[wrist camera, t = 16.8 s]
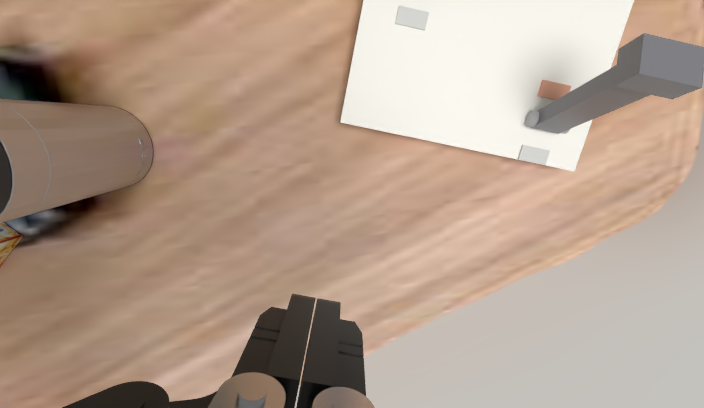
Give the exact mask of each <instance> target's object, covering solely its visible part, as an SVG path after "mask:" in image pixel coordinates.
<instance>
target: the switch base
mask: <svg viewBox="0 0 704 408" xmlns="http://www.w3.org/2000/svg"><path fill="white" fill-rule="evenodd" d="M633 2H634V0H364V1H363V6H362V11H361V16H360V21H359V27H358V32H357V37H356V42H355V48H354V53H353V58H352V63H351V68H350V74H349V79H348V84H347V89H346V95H345V100H344V105H343V110H342V115H341V121H340V122H341V123H346V124H350V125H355V126H360V127H365V128H370V129H374V130H379V131H384V132H389V133H393V134H398V135H403V136H408V137H413V138H417V139H422V140H427V141H432V142H436V143H441V144H446V145H451V146H455V147H460V148H465V149H470V150H475V151H479V152H484V153H489V154H494V155H498V156H503V157H508V158H513V159H518V160H522V161H527V162H532V163H537V164H541V165H546V166H551V167H556V168H561V169H565V170H570V171H575V168H576V165H577V162H578V159H579V156H580V154H581V151H582V148H583V145H584V142H585V139H586V136H587V134H588V131H589V128H590V125H591V122H592V120H590V121H587V122H585V123H583V124H580V125H578V126H576V127H573V128H571V129H570V130H569V132H568V133H566V134H562V133H559V134H556V133H551V132H547V131H542V130H537V129H533V128H531V127H530V126H526V124H525V121H526V117H527V115H528V113H529V112H530V111H531V110H534V111H538V110H539V109H541V108H543V107H545V106H546V105H548V104H550V103H552V102H553V101H555V100H557V99H559V98H560V97H562V96H564V95H566V94H567V93H569V92H571V91H573V90H574V89H576V88H578V87H579V86H581V85H583V84H585V83H586V82H588V81H590V80H592V79H593V78H595V77H597V76H599V75H600V74H602V73H604V72H606V71H607V70H609V69H610V68H611V65H612V62H613V59H614V56H615V54H616V51H617V48H618V45H619V42H620V39H621V36H622V34H623V31H624V28H625V25H626V22H627V19H628V16H629V14H630V11H631V8H632V5H633Z"/></svg>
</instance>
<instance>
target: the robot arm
mask: <svg viewBox="0 0 704 408" xmlns="http://www.w3.org/2000/svg"><path fill="white" fill-rule="evenodd" d="M152 158H153V147H152V143H151V139H150V137H149V134H148V132H147V130H146V129H145V128H144V126H143V125H142V123H141V122H140V121H139V120H138V119H137V118H136V117H134V116H133V115H131V114H130V113H128V112H127V111H124V110H122V109H120V108H116V107H111V106H99V105H85V104H71V103H56V102H41V101H26V100H12V99H0V223H3V222H6V221H10V220H13V219H16V218H19V217H23V216H26V215H30V214H33V213H37V212H40V211H44V210H47V209H51V208H54V207H58V206H61V205H65V204H68V203H71V202H75V201H78V200H82V199H85V198H89V197H92V196H96V195H99V194H103V193H107V192H110V191H114V190H117V189H120V188H124V187H127V186H131V185H133V184H135V183H137V182H138V181H140V180H141V179H142V178H143V177H144V176H145V175H146V174H147V172H148V171H149V168H150V166H151V164H152ZM314 303H315V298H313V297H308V296H302V295H297V294H292V296H291V299H290V302H289V305H288V308H287V310H286V309H280V308H274V307H271V308H269V309H268V310H267V311H265V312H264V313H263V314H261V315H260V317H259V319H258V321H257V323H256V325H255V329H254V330H253V332H252V334H251V337H250V338H249V341H248V343H247V345H246V347H245V349H244V351H243V354H242V356H241V358H240V360H239V362H238V364H237V367H236V369H235V371H234V373H233V375H232V377H231V378H230V379H228V380H227V381H225V382H224V383H223V384H222V385H221V387H220V388H219V390H218V391H217V392H215V393H213V394H211V395H208V396H205V397H202V398H198V399H192V400H183V401H173V402H169V397H168V394H167V393H166V391H165V390H164V389H163V388H162V387H160V386H158V385H156V384H154V383H150V382H142V381H136V382H127V383H123V384H119V385H116V386H113V387H110V388H108V389H106V390H103V391H101V392H99V393H96V394H94V395H91V396H89V397H87V398H84V399H82V400H79V401H77V402H75V403H72V404H70V405H67V406H65V407H63V408H294V406H295V401H296V396H297V391H298V386H299V381H300V376H301V371H302V366H303V360H304V355H305V350H306V345H307V340H308V334H309V329H310V324H311V319H312V313H313V308H314ZM362 347H363V341H362V332H361V331H360V329H359V328H358V326H357V325H356V323H355V322H352V321H347V320H341V319H340V302H335V301H329V300H324V299H317V303H316V308H315V313H314V318H313V323H312V328H311V333H310V338H309V343H308V349H307V354H306V359H305V364H304V370H303V375H302V381H301V386H300V391H299V397H298V402H297V408H374V406H373V404H372V403H371V401H370V400H369V399H368V398H367V397H366V391H365V374H364V358H363V348H362Z"/></svg>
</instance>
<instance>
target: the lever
mask: <svg viewBox="0 0 704 408" xmlns="http://www.w3.org/2000/svg"><path fill="white" fill-rule="evenodd" d="M703 72H704V47H700V46H696V45H692V44H688V43H683V42H679V41H675V40H671V39H666V38H662V37H658V36H654V35H649V34H645V33H644V34H642V35H641V36H639V37H637V38H636V39H634V40H633V41H631V42H629V43H628V44H626V45H625V46H623V47H621V48H620V49H619V52H618V60H617V65H616V66H614V67H612V68H611V69H609V70H607V71H606V72H604V73H602V74H600V75H599V76H597V77H595V78H593V79H592V80H590V81H588V82H586V83H585V84H583V85H581V86H579V87H578V88H576V89H574V90H573V91H571V92H569V93H567V94H566V95H564V96H562V97H560V98H559V99H557V100H555V101H553V102H552V103H550V104H548V105H546V106H545V107H543V108H541V109H539V110H538V111H534V110H531V111H530V112H529V113H528V115H527V117H526V121H525V124H526V126H530V127H531V128H533V129H537V130H542V131H547V132H551V133H556V134H559V133H562V134H566V133H568V132H569V130H570V129H571V128H573V127H576V126H578V125H580V124H583V123H585V122H587V121H590V120H592V119H595V118H597V117H599V116H602V115H604V114H606V113H609V112H611V111H613V110H616V109H618V108H621V107H623V106H625V105H628V104H630V103H632V102H635V101H637V100H639V99H642V98H644V97H646V96H649V95H655V96H660V97H664V98H669V99H674V98H676V97H679V96H682V95H684V94H687V93H689V92H692V91H695V90H697V89H700V88H702V82H703Z"/></svg>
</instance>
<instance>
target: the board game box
mask: <svg viewBox="0 0 704 408" xmlns="http://www.w3.org/2000/svg"><path fill="white" fill-rule="evenodd" d="M22 237H23V235H21V234H19V233H18V232H16V231H15V230H13V229H12V228H10V227H9V226H8V225H6V224H5V223H0V266H1V265H2V263H3V262H4V261H5V260H6V258H7V257H8V256H9V254H10V253H11V252H12V250H13V249H14V248H15V247H16V245H17V244H18V243H19V241H20V240H21V239H22Z"/></svg>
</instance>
